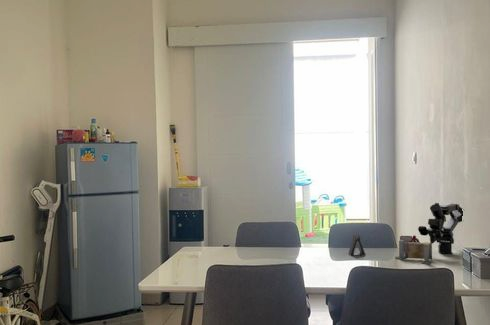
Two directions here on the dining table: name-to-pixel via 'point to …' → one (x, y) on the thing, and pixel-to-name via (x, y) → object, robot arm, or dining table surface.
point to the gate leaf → (416, 250)
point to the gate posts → (402, 252)
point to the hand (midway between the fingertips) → (431, 243)
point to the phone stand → (355, 245)
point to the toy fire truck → (409, 239)
